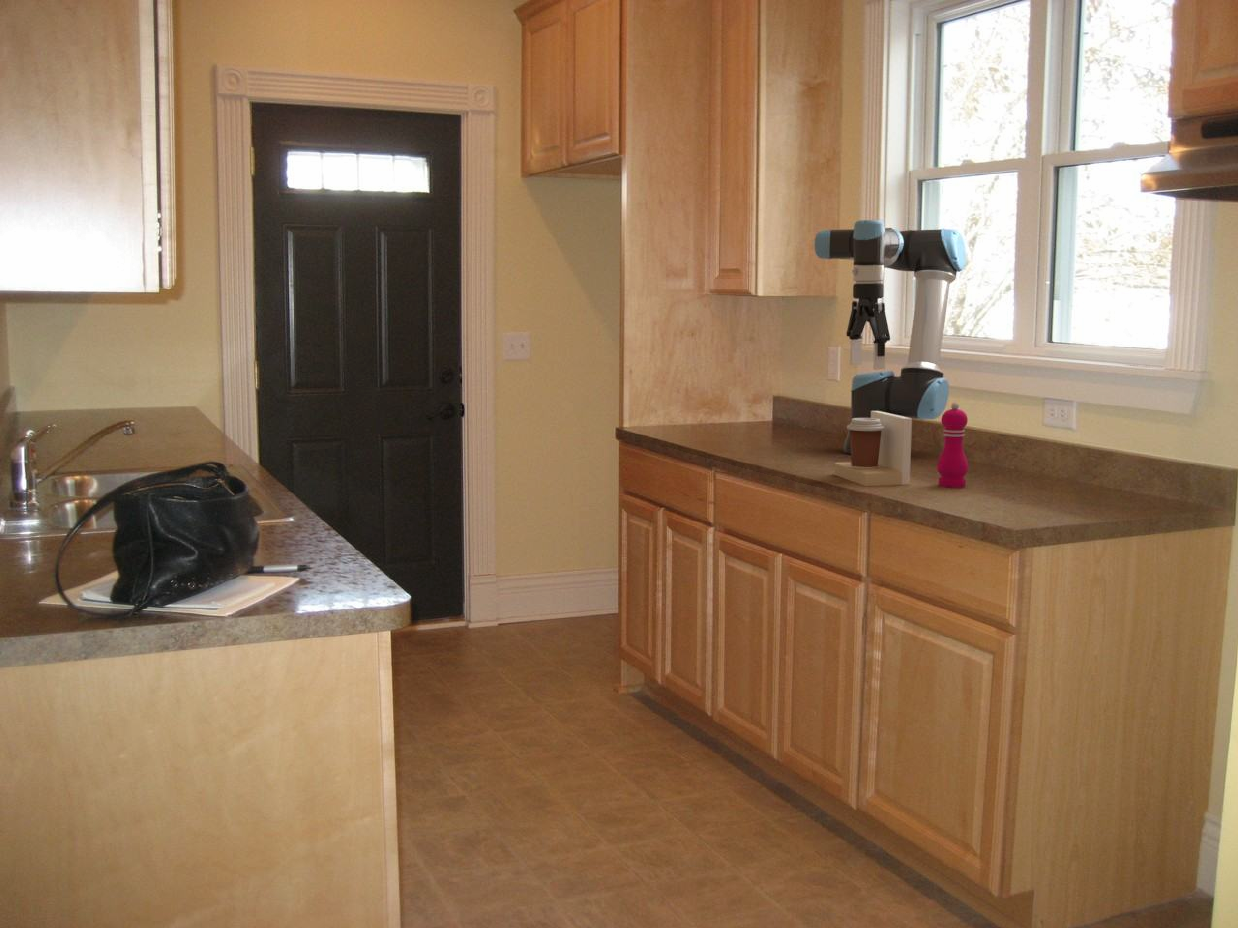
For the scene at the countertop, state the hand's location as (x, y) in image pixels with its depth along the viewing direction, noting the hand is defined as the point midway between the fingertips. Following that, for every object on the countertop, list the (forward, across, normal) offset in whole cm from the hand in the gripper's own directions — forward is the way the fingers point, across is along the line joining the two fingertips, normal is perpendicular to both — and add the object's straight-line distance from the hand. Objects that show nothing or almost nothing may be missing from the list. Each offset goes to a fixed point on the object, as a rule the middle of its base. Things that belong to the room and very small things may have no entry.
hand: (867, 367), depth 312 cm
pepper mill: (+27, +26, +10) cm, 39 cm away
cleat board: (+27, +12, -4) cm, 30 cm away
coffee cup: (+24, +12, -6) cm, 27 cm away
